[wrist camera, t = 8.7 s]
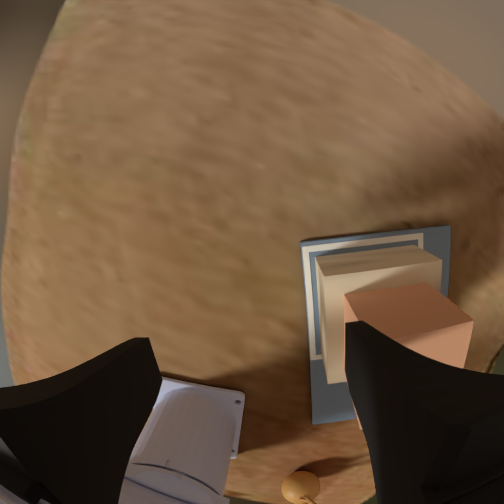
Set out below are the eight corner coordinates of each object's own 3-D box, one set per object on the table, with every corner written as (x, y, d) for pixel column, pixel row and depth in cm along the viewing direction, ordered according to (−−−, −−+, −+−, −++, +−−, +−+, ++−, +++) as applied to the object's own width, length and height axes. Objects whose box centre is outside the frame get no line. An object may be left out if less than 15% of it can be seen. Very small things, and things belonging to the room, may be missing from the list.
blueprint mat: (426, 398, 21) (428, 401, 21) (312, 421, 22) (312, 425, 22) (447, 225, 18) (451, 226, 17) (300, 241, 19) (300, 243, 18)
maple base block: (409, 335, 19) (430, 363, 16) (320, 350, 20) (328, 384, 16) (414, 244, 18) (442, 260, 14) (314, 256, 19) (324, 276, 15)
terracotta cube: (418, 357, 16) (451, 406, 11) (343, 370, 16) (360, 429, 11) (427, 282, 14) (474, 320, 10) (343, 294, 15) (369, 342, 10)
